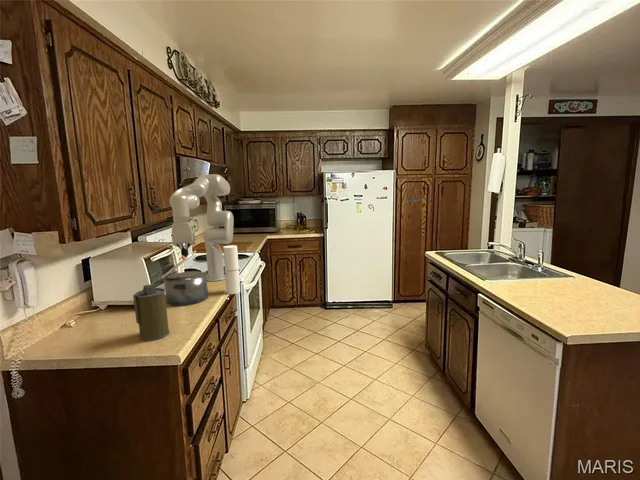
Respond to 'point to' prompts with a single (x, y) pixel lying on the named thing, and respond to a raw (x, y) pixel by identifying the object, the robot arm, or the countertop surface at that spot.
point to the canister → (151, 313)
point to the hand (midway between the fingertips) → (185, 256)
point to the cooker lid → (172, 267)
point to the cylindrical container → (231, 269)
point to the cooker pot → (186, 288)
